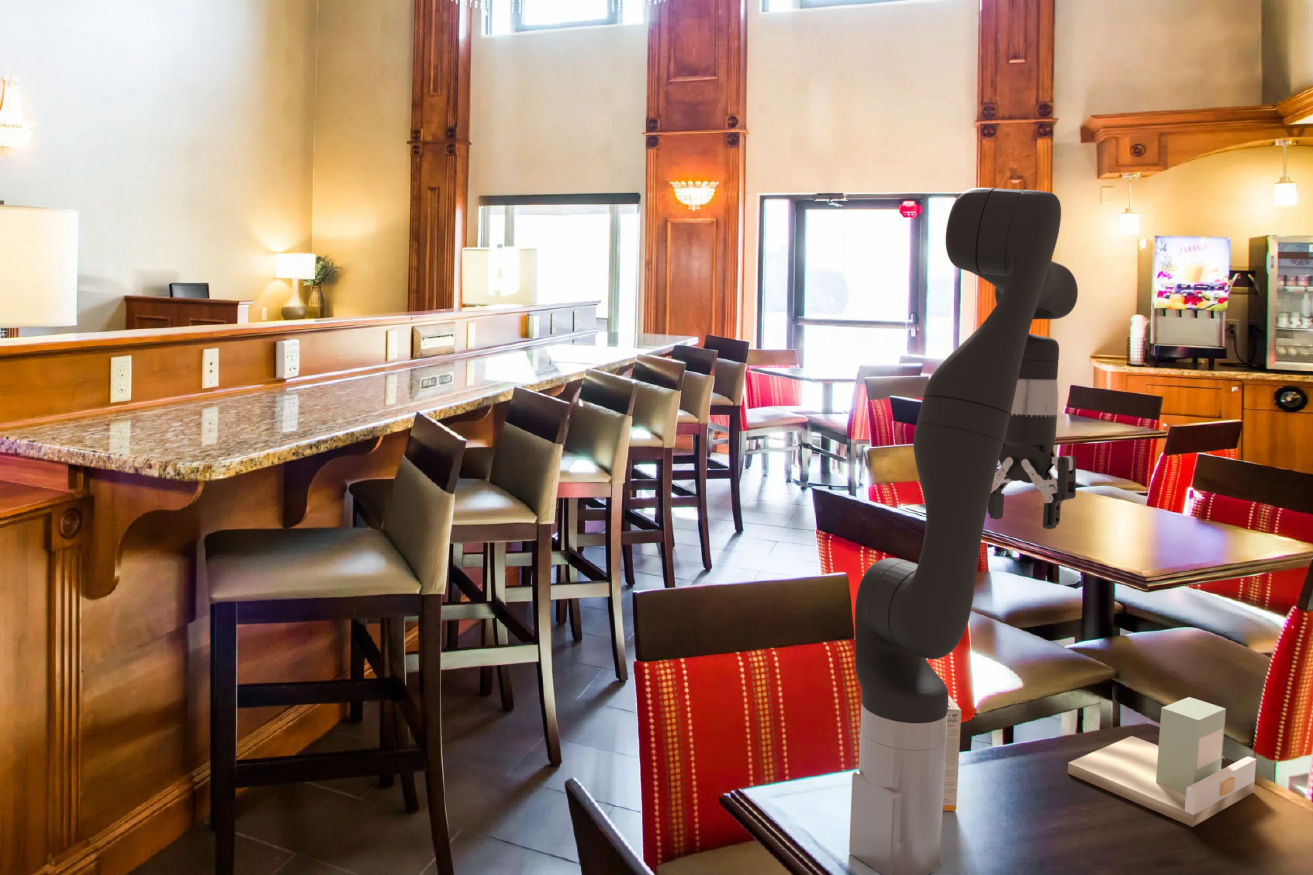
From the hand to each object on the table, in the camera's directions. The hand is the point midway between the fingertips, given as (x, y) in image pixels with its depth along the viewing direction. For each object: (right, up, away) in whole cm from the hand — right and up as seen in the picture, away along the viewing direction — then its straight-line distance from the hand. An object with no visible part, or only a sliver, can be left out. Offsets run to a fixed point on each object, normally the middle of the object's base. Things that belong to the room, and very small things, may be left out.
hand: (1021, 523), depth 128 cm
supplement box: (-18, -34, -14) cm, 41 cm away
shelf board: (+14, -33, -10) cm, 38 cm away
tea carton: (+16, -32, -13) cm, 38 cm away
